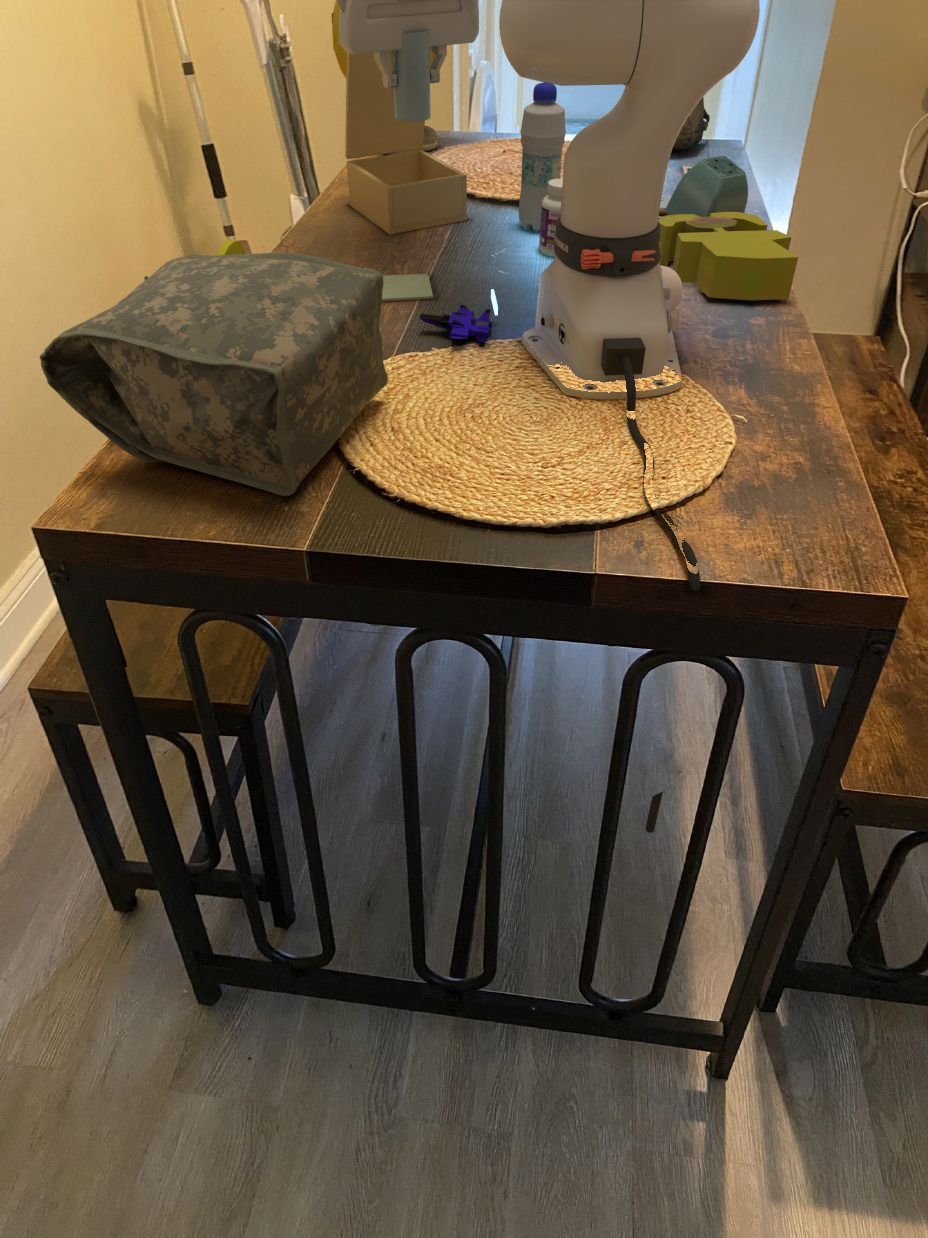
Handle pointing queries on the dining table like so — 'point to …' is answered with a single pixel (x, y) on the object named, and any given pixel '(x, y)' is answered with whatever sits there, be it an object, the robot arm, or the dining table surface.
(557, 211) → the pill bottle
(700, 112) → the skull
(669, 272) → the egg
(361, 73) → the lid
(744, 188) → the flower pot
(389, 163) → the chest
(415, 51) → the grey cylinder
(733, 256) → the toy
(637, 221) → the robot arm
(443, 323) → the toy spaceship
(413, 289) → the mat
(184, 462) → the lunch bag
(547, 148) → the bottle
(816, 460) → the dining table surface
